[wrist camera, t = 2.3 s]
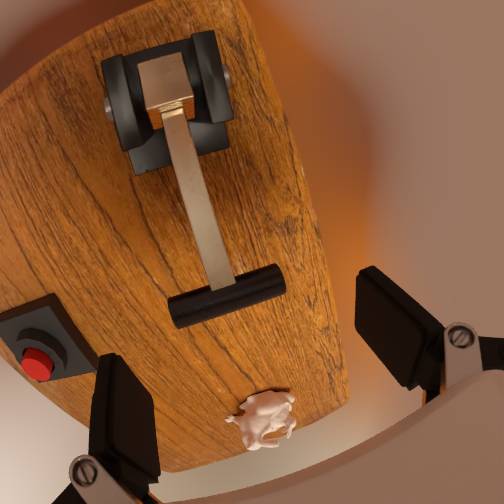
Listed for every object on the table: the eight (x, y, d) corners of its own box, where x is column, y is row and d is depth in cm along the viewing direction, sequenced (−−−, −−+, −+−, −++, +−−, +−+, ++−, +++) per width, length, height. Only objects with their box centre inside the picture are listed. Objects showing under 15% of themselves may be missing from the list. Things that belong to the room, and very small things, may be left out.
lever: (277, 288, 14) (293, 298, 12) (180, 321, 13) (176, 337, 11) (209, 70, 13) (211, 44, 11) (119, 96, 12) (107, 73, 10)
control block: (42, 370, 27) (36, 393, 24) (-2, 313, 22) (-14, 335, 19) (98, 357, 29) (95, 383, 25) (54, 292, 24) (43, 316, 20)
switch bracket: (227, 146, 23) (277, 170, 13) (136, 173, 22) (112, 221, 12) (202, 38, 18) (235, -22, 8) (108, 65, 17) (60, 24, 7)
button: (37, 371, 23) (34, 382, 22) (19, 350, 21) (15, 361, 20) (59, 367, 24) (56, 378, 22) (40, 344, 22) (36, 356, 20)
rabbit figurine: (226, 422, 41) (241, 470, 33) (209, 402, 38) (223, 457, 29) (292, 396, 43) (315, 442, 34) (284, 373, 39) (310, 425, 31)
